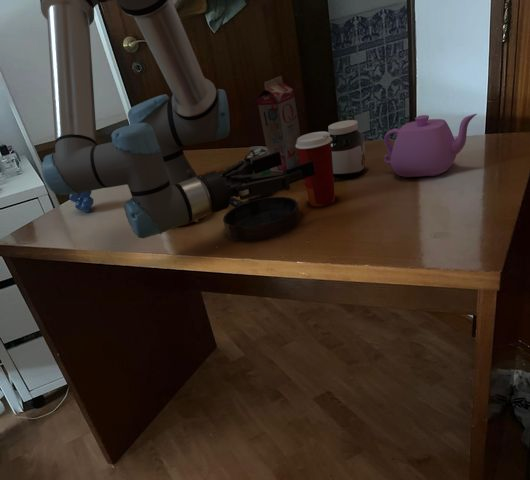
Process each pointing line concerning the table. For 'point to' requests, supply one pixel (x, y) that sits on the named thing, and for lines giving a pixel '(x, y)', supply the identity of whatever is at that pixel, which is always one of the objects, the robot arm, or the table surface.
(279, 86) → the juice carton
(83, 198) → the grapes
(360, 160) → the spread jar
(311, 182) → the paper cup
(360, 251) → the table surface
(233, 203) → the pan handle
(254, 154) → the food container
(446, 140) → the teapot
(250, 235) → the pan
